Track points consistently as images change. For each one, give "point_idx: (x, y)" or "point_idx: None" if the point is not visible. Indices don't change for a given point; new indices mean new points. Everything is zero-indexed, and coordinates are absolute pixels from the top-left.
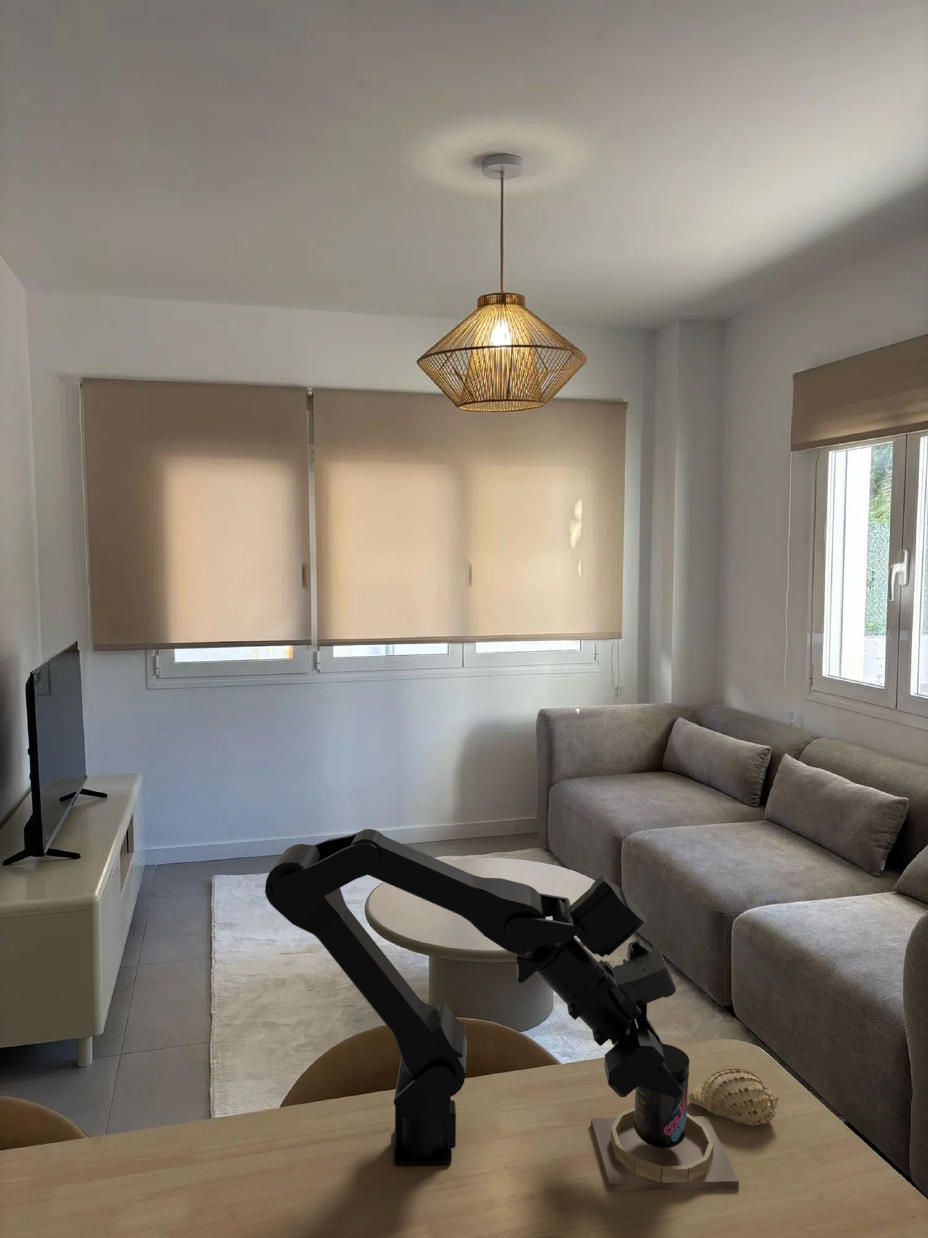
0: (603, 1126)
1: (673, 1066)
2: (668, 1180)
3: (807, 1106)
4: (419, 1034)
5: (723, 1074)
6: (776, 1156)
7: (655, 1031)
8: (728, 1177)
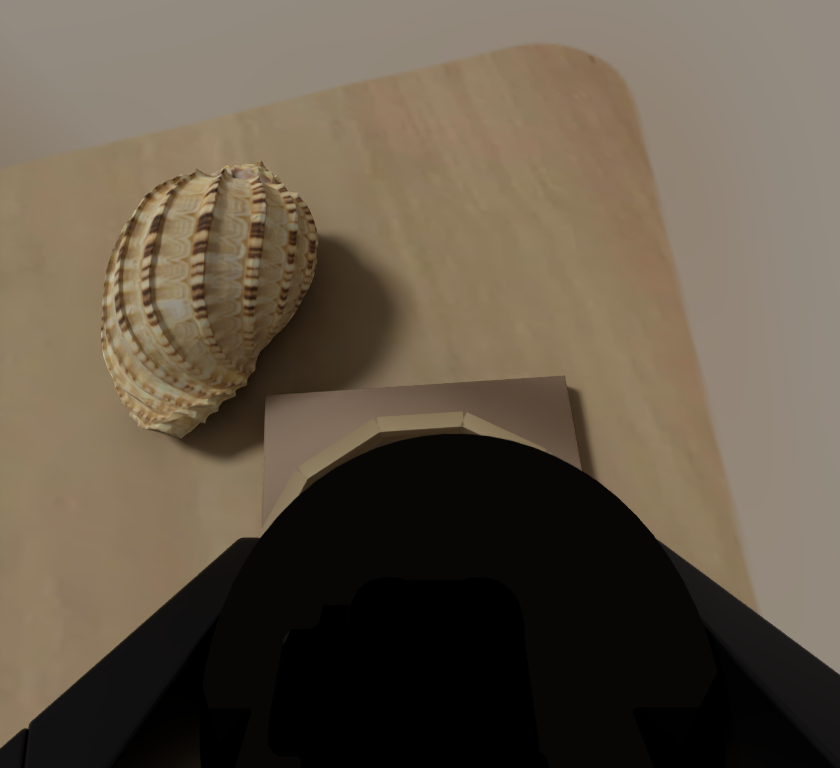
0: None
1: (605, 605)
2: None
3: (215, 129)
4: None
5: (152, 282)
6: (418, 254)
7: (49, 729)
8: (554, 401)
